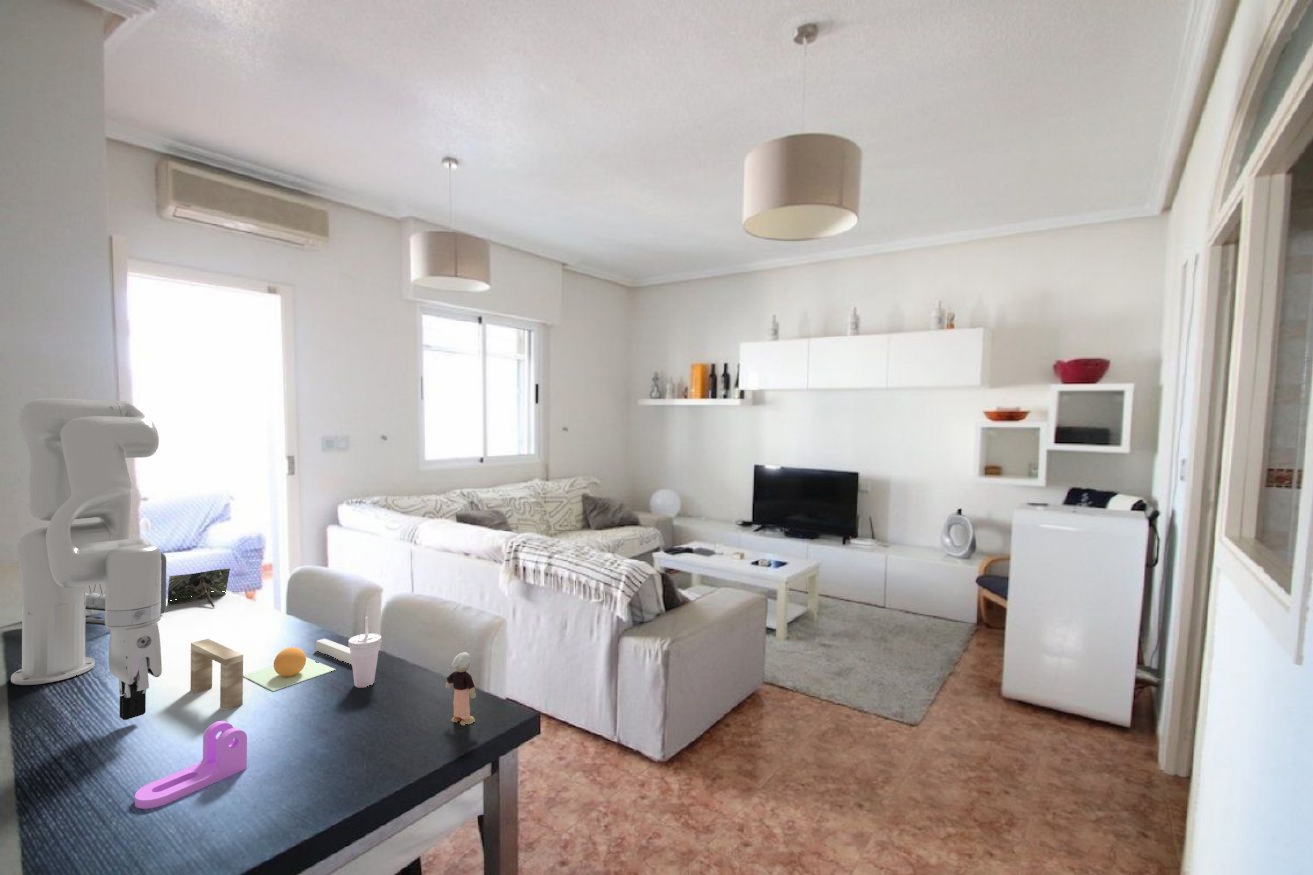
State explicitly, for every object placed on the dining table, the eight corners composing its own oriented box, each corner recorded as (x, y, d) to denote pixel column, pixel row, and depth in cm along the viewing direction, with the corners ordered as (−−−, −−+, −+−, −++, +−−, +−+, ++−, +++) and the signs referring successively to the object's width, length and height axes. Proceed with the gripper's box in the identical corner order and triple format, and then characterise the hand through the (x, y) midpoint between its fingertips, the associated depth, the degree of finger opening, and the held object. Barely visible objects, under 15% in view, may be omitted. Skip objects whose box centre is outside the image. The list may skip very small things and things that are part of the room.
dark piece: (165, 605, 175) (179, 631, 168) (169, 576, 172) (184, 601, 165) (225, 593, 187) (240, 617, 180) (229, 566, 185) (246, 589, 177)
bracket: (229, 759, 97) (229, 716, 97) (246, 769, 94) (247, 726, 94) (128, 801, 86) (128, 753, 86) (144, 814, 83) (144, 765, 83)
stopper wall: (316, 651, 143) (316, 640, 143) (324, 648, 144) (324, 638, 144) (354, 666, 134) (355, 655, 134) (363, 663, 136) (363, 652, 136)
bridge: (224, 710, 113) (225, 659, 113) (190, 690, 121) (190, 642, 121) (242, 704, 115) (243, 654, 115) (207, 685, 123) (208, 638, 123)
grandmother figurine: (484, 718, 112) (485, 652, 112) (471, 728, 108) (473, 659, 108) (450, 711, 114) (451, 646, 114) (437, 720, 111) (438, 653, 111)
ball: (299, 641, 133) (300, 668, 133) (268, 649, 128) (269, 677, 128) (310, 646, 129) (311, 674, 129) (279, 654, 125) (280, 683, 124)
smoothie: (387, 678, 129) (388, 614, 128) (369, 691, 122) (370, 623, 122) (359, 676, 129) (360, 612, 129) (340, 689, 123) (341, 622, 123)
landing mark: (242, 676, 128) (242, 675, 128) (304, 657, 139) (304, 656, 139) (273, 691, 121) (273, 690, 121) (335, 670, 132) (335, 669, 132)
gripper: (176, 617, 106) (175, 719, 106) (143, 602, 114) (142, 697, 114) (122, 628, 100) (121, 737, 100) (91, 612, 107) (90, 713, 108)
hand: (132, 715), depth 107 cm, fingers closed
